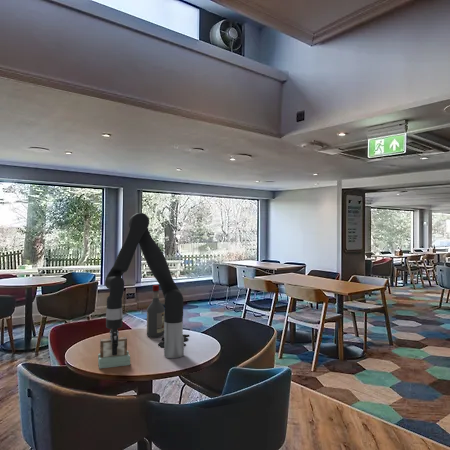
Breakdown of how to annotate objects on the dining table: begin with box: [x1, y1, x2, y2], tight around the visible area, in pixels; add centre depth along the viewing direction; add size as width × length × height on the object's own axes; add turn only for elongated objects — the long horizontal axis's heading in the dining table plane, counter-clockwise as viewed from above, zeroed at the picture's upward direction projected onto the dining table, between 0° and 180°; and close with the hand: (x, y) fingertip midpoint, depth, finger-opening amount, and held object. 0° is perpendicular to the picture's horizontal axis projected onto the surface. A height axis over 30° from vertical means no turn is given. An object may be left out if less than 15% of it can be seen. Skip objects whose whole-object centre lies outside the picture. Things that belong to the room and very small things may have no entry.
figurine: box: [157, 333, 190, 349], centre depth 214 cm, size 16×1×30 cm
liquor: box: [146, 284, 165, 339], centre depth 228 cm, size 9×9×30 cm
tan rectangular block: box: [99, 336, 128, 358], centre depth 181 cm, size 12×4×9 cm, turn 111°
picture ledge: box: [97, 350, 131, 370], centre depth 181 cm, size 14×10×4 cm
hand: (114, 353), depth 181 cm, fingers closed on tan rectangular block, 3 cm apart
